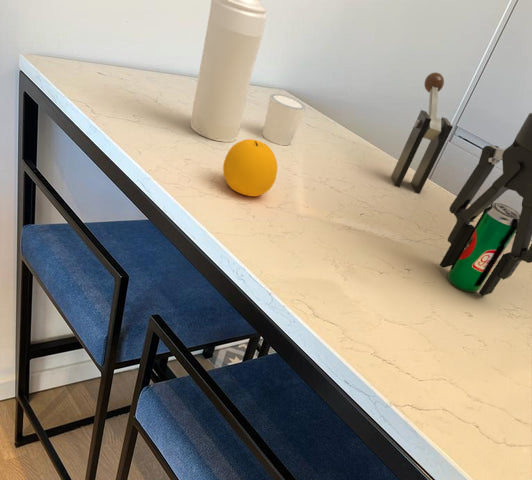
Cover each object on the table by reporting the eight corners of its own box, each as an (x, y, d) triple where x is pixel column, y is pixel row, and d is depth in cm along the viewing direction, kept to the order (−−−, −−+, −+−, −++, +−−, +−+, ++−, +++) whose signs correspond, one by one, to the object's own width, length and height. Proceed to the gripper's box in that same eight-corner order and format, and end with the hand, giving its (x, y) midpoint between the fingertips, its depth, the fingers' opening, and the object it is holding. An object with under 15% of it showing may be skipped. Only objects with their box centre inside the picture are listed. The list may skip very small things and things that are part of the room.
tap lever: (421, 80, 105) (430, 65, 102) (438, 86, 105) (447, 71, 102) (417, 138, 99) (427, 124, 96) (435, 144, 100) (445, 130, 97)
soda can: (461, 295, 80) (508, 219, 73) (439, 274, 83) (481, 200, 76) (484, 293, 83) (532, 220, 76) (462, 273, 86) (505, 201, 79)
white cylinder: (270, 145, 104) (282, 106, 99) (252, 129, 108) (263, 91, 103) (300, 148, 107) (313, 111, 103) (282, 132, 111) (293, 95, 107)
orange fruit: (277, 206, 85) (293, 158, 80) (227, 200, 81) (241, 150, 77) (259, 180, 90) (273, 134, 85) (212, 174, 86) (224, 125, 82)
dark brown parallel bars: (378, 175, 109) (410, 102, 101) (416, 187, 110) (451, 116, 102) (385, 197, 101) (421, 120, 93) (426, 209, 103) (465, 134, 94)
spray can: (252, 151, 99) (299, -12, 83) (196, 145, 93) (235, -31, 78) (225, 123, 106) (264, -33, 90) (172, 116, 100) (204, -51, 85)
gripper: (481, 86, 71) (400, 246, 85) (625, 160, 62) (508, 324, 76) (508, 90, 76) (428, 240, 90) (645, 158, 67) (532, 313, 81)
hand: (465, 278), depth 83 cm, fingers open, 6 cm apart
